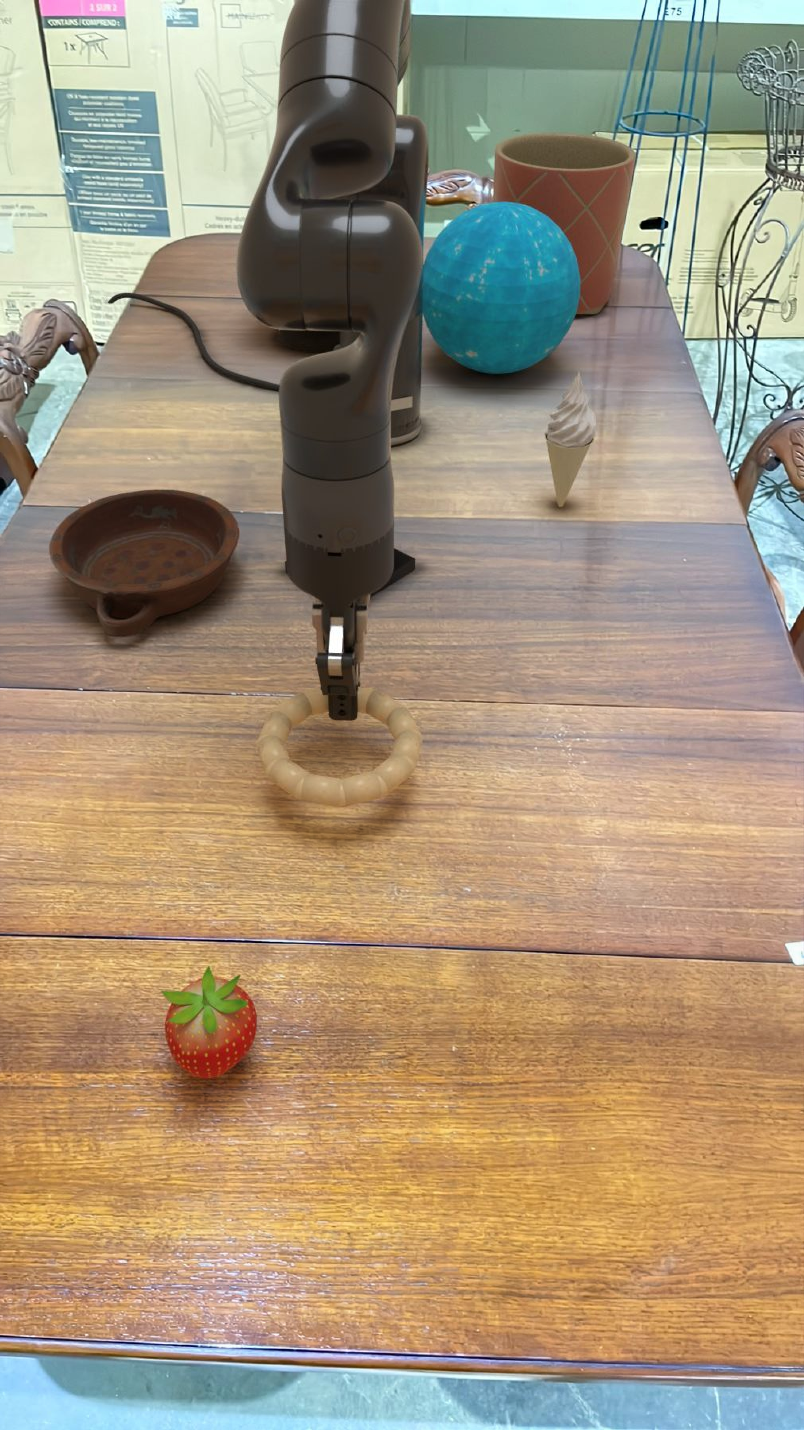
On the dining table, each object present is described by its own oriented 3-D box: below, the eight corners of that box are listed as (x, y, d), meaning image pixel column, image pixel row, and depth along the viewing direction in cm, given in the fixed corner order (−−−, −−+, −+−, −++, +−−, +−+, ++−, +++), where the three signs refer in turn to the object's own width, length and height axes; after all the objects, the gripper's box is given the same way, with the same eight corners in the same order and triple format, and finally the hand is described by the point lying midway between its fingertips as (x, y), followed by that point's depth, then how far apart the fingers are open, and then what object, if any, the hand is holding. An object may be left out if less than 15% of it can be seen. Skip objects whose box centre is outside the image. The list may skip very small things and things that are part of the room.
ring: (226, 756, 81) (223, 736, 79) (337, 678, 87) (337, 659, 86) (342, 837, 75) (342, 818, 74) (452, 748, 82) (453, 728, 80)
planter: (623, 324, 153) (646, 171, 139) (488, 321, 153) (498, 169, 140) (606, 275, 167) (625, 133, 154) (483, 274, 167) (491, 131, 154)
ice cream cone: (582, 521, 113) (602, 384, 103) (534, 515, 114) (548, 379, 104) (586, 497, 116) (605, 362, 107) (539, 491, 117) (553, 358, 107)
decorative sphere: (593, 392, 136) (616, 226, 123) (441, 408, 132) (447, 238, 119) (540, 331, 150) (555, 176, 137) (401, 343, 147) (403, 185, 133)
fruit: (197, 1017, 68) (181, 939, 62) (274, 1038, 67) (264, 961, 61) (158, 1092, 64) (138, 1016, 59) (239, 1117, 63) (226, 1041, 58)
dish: (254, 519, 112) (250, 476, 109) (229, 650, 96) (223, 604, 92) (86, 518, 112) (77, 474, 109) (32, 648, 96) (19, 602, 92)
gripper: (294, 462, 78) (306, 649, 90) (270, 570, 68) (287, 766, 80) (398, 465, 78) (396, 652, 90) (389, 574, 68) (388, 769, 79)
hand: (345, 704), depth 85 cm, fingers closed on ring, 2 cm apart
